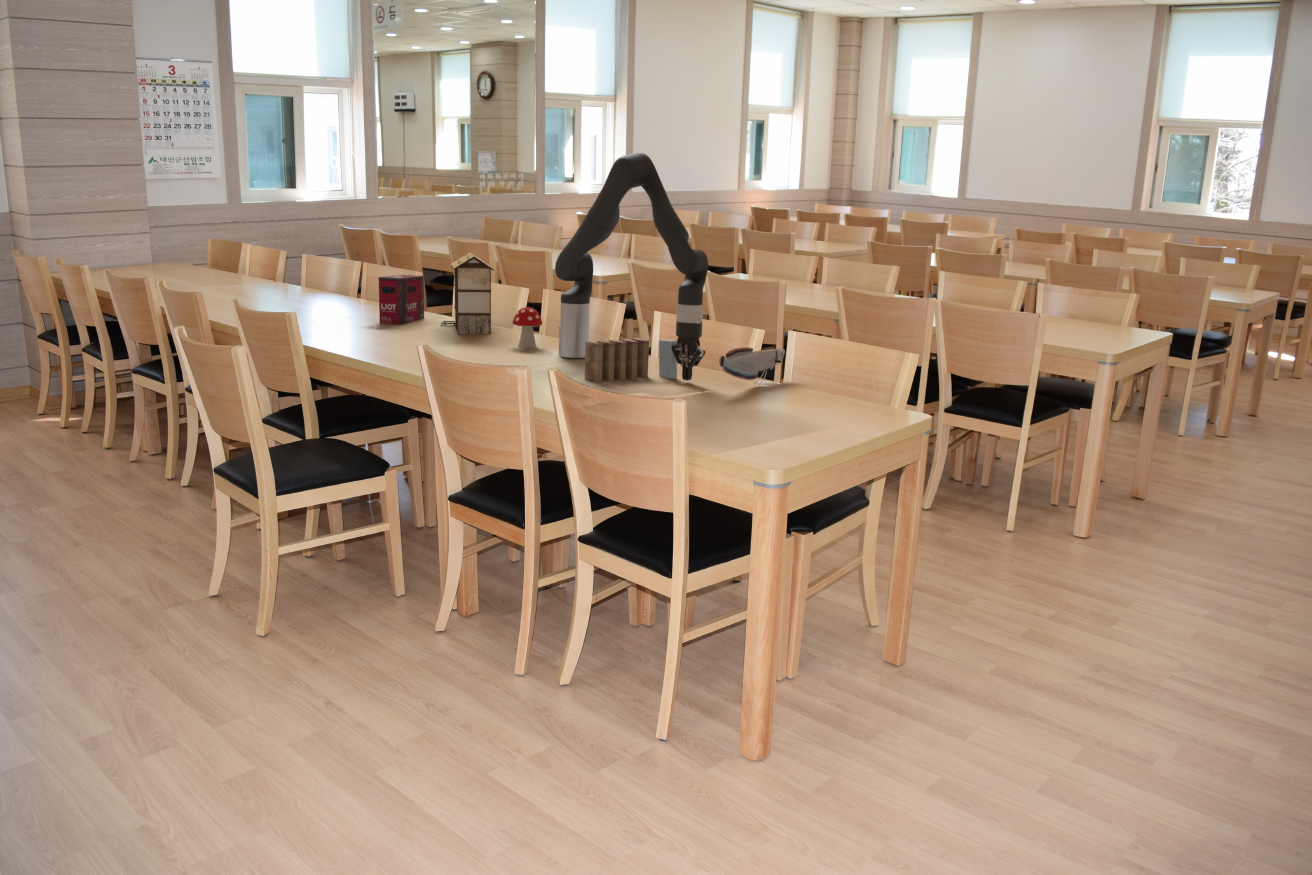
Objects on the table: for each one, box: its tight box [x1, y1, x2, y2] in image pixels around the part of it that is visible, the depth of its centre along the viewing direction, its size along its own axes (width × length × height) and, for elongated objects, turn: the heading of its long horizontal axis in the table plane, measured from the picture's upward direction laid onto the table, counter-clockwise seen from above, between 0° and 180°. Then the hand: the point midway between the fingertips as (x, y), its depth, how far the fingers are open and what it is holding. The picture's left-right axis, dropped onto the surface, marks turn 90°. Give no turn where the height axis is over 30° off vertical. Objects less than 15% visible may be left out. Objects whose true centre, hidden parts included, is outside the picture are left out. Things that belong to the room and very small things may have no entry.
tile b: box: [619, 338, 638, 380], centre depth 296 cm, size 6×2×11 cm, turn 39°
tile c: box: [608, 339, 626, 381], centre depth 293 cm, size 6×2×11 cm, turn 39°
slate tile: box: [658, 339, 678, 380], centre depth 297 cm, size 6×2×11 cm, turn 39°
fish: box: [718, 347, 786, 386], centre depth 288 cm, size 34×7×12 cm, turn 137°
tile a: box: [631, 337, 650, 378], centre depth 298 cm, size 6×2×11 cm, turn 39°
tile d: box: [596, 340, 615, 382], centre depth 290 cm, size 6×2×11 cm, turn 39°
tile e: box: [584, 340, 603, 384], centre depth 288 cm, size 6×2×11 cm, turn 39°
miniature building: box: [440, 252, 495, 335], centre depth 365 cm, size 25×19×30 cm
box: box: [378, 274, 425, 326], centre depth 379 cm, size 16×9×20 cm, turn 162°
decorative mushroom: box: [512, 306, 543, 349], centre depth 336 cm, size 10×9×15 cm
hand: (686, 379), depth 291 cm, fingers closed
